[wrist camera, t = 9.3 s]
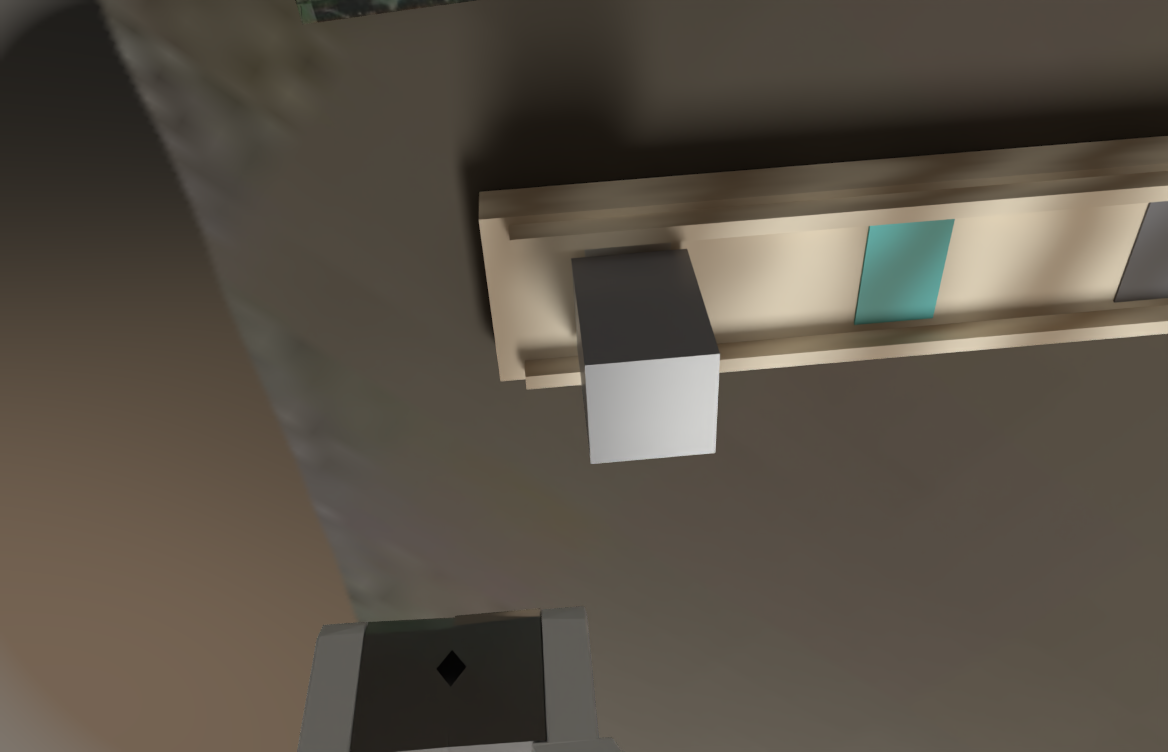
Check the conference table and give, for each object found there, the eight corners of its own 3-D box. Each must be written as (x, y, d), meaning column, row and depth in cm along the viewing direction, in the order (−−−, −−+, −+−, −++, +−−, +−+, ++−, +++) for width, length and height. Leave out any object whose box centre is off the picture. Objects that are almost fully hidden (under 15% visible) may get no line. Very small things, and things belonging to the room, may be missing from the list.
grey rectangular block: (686, 248, 32) (720, 353, 28) (684, 341, 35) (714, 452, 30) (571, 258, 32) (584, 365, 28) (577, 351, 35) (591, 463, 30)
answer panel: (1307, 124, 34) (1368, 160, 32) (1234, 286, 38) (1282, 329, 36) (479, 191, 33) (478, 234, 31) (500, 349, 37) (500, 397, 35)
